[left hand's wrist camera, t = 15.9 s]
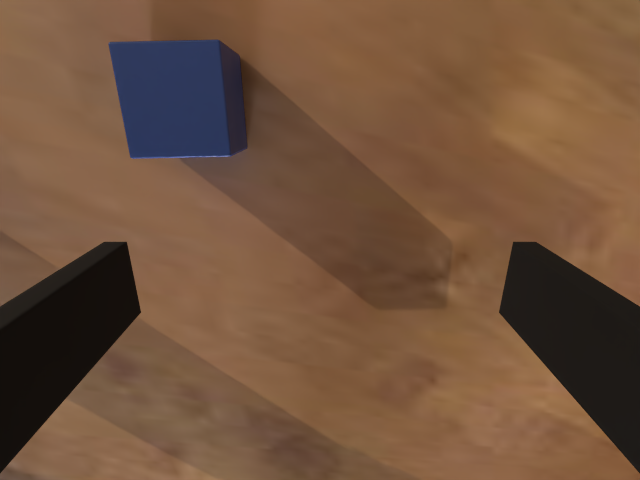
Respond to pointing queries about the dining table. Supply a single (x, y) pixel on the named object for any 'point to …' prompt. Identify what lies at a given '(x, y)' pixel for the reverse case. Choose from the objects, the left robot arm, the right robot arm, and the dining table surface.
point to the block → (180, 98)
